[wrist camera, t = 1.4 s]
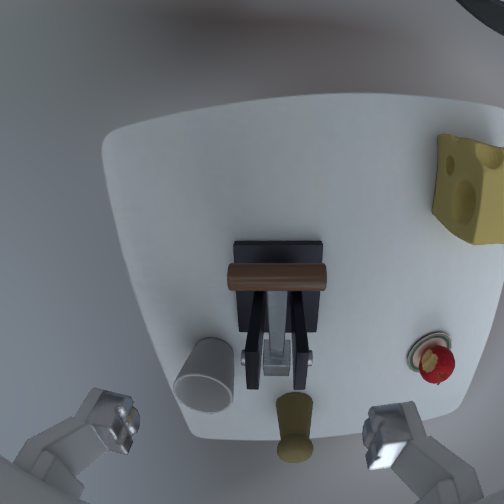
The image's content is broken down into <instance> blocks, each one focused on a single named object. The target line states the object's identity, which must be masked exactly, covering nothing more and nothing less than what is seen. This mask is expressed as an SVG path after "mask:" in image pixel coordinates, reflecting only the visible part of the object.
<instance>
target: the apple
mask: <svg viewBox="0 0 504 504" xmlns="http://www.w3.org/2000/svg"><path fill="white" fill-rule="evenodd" d="M451 346H452V342H451V339H450V337H449V336H448V335H447V334H445V333H433V334H430V335H428V336H426V337H424V338H423V339H421V340H420V341H419V342H418V343H417V344H416V345H415V346H414V347H413V348H412V350H411V351H410V353H409V355H408V360H407V363H408V366H409V368H410V369H411V370H412V371H414V372H419V373H420V374H421V376H422V377H423V378H424V380H426V381H427V382H429V383H438V384H437V385H439V384H440V382H443V381H444V380H446V379H447V378H448V377H449V376H450V375H451V374H452V372H453V370H454V368H455V360H454V356H453V354H452V352H451V351H450V350H451Z"/></svg>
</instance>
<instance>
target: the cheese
mask: <svg viewBox="0 0 504 504" xmlns="http://www.w3.org/2000/svg"><path fill="white" fill-rule="evenodd" d="M432 214H433V215H435V216H436V218H437V219H438V220H439V221H440V222H441V223H442V224H443V225H444V226H445V227H446V228H447V229H448V230H449V231H450V232H451V233H453V234H454V235H455V236H457V237H458V238H460V239H462V240H464V241H466V242H468V243H470V244H472V245H483V244H495V243H499V244H504V148H502V147H496V146H491V145H488V144H484V143H481V142H478V141H476V140H472V139H468V138H459V137H455V136H452V135H449V134H441V135H439V136H438V169H437V180H436V189H435V196H434V203H433V209H432Z"/></svg>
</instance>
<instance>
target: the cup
mask: <svg viewBox="0 0 504 504" xmlns="http://www.w3.org/2000/svg"><path fill="white" fill-rule="evenodd" d="M173 391H174V394H175V396H176V397H177V399H178V400H179V401H180V402H181V403H182V404H184V405H185V406H187V407H189V408H190V409H193V410H195V411H198V412H203V413H207V414H212V413H218V412H221V411H224V410H226V409H227V408H229V407H230V405H231V404H232V402H233V391H234V353H233V350H232V348H231V347H230V346H229V345H228V344H227V343H225V342H224V341H222V340H219V339H214V338H207V339H203V340H201V341H199V342H198V343H197V345H196V346H195V348H194V349H193V351H192V352H191V354H190V356H189V357H188V359H187V360H186V362H185V364H184V365H183V367H182V369H181V371H180V373H179V374H178V376H177V378H176V380H175V382H174V384H173Z"/></svg>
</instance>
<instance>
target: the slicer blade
mask: <svg viewBox="0 0 504 504" xmlns="http://www.w3.org/2000/svg"><path fill="white" fill-rule="evenodd" d="M227 282H228V288H229V290H231V291H267V305H268V325H269V340H264V352H263V371H264V376H289V371H290V340H285V328H286V311H287V291H324V290H325V288H326V283H327V271H326V265H325V264H324V263H230V264H229V266H228V273H227Z"/></svg>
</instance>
